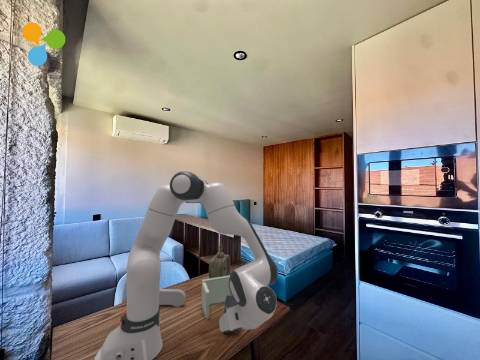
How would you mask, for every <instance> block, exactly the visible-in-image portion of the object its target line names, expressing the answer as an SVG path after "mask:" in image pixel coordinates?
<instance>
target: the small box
mask: <svg viewBox="0 0 480 360" xmlns="http://www.w3.org/2000/svg"><path fill="white" fill-rule="evenodd" d="M235 305H238V304H237V303H236V302H235V300H234V299H233V297H232V296H226V301H225V302H224V307H223V314H224V313H226V309H228V308H230V307H232V306H235ZM238 333H239V330H234V331H230V330H227V331H224V332H223V334H232V335H237V334H238Z"/></svg>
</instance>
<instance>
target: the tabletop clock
mask: <svg viewBox="0 0 480 360" xmlns="http://www.w3.org/2000/svg"><path fill="white" fill-rule="evenodd" d="M220 247H221V248H220ZM223 247H224V246H223V244H222V243H221V244H219V246H218V248H217V250H218V251H217V253H216V254H215V255H214V256H213V257H211V258H210V260H209V262H208V264H209V265H208V279H210V278H217V277H223V276H229V275H230V274H231V255H230V254H225V253H224V251H223V249H224V248H223Z"/></svg>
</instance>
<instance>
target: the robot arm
mask: <svg viewBox="0 0 480 360" xmlns="http://www.w3.org/2000/svg"><path fill="white" fill-rule="evenodd" d="M184 203H186V204H199V203H201V204H203V207H204V209H205V212H206V216H207V220H208V222H209V224H210V226H211V228H212V229H213V230H214V231H215V232H217V233H219V234H223V235H228V236H229V235H233V236H238V237H239V236H240V237H242V239H243V240H245V242H246V244H247V246H248V247H249V250H250V252H251V254H252V255H253V257H254V259H253V260H252V261H250V262H247V263H246V264H244V265H241V266H239V267H237V268H235V269H233V270H232V271H230V277H229V289H230V292H231V295H232V297H233V299H234V300H235V302H236V303H237V304H238V305H235V306H232V307H230V308H228V309H226V313H224V312H223V314H222V315H221V316H220V318H219V319H218V326H219V331H220V332H223V333H224V331H227V330H230V331H234V330H238V331H240V330H255V329H257V328H258V327H260V326H261V325H262V324H263V323H265V322H266V321H268V320H270V319H271V318H272V317H273V316H274V313H275V312H276V309H277V304H278V303H277V302H278V301H277V295H276V293H275V291H274V290H273V289H272V288H271V287H270V286H271V285H274V284H275V283H276V282H277V279H278V275H279V270H278V266H277V265H276V262H275V260H274V259H272V257H271V255H270V254H269V253H268V251H267V249H266V248H265V245H264V244H263V242H262V240H261V238H260V236H259V234H258V233H257V231H256V229H255V228H254V226H253V225H252V223H251V222H250V220H249V219H248V218H246V217H243V216H242V215H241V214H240V213H239V211H238V210H237V207H236V206H235V201H234V200H233V198H232V196H231V194H230V192H229V190H228V189H227V187H226V185H225V184H223V183H222V182H212V183H208V182H207V181H206V180H205V179H204V178H202V177H201V176H200V175H199V174H198V175H197V174H195V173H193V172H191V171H178V172H176V173H175V174H174V175H173V176H172V177H171V179H170V182H169V184H162V185H160V186H159V187H158V189H156V191H155V193H154V195H153V196H152V199H151V200H150V202H149V205H148V208H147V210H146V212H145V215H144V218H143V220H142V223H141V225H140V228H139V229H138V231H137V235H136V237H135V239H134V241H133V244H132V246H131V248H130V251H129V253H128V258H127V264H126V309H124V310H122V311H121V312H120V319H119V325H118V326H117V327H116V328H115V329H113V330H112V331H111V332H109V333H108V335H107V336H106V338H105V340H104V342H103V344H102V346H101V348H99V350H98V351H97V353H96V355H95V357H94V360H154V359H155V358H156V357H157V356H158V355H159V353H160V352H161V350H162V349H163V338H162V336H161V330H160V322H161V309H160V305H159V289H160V284H161V283H160V282H161V273H162V272H161V271H162V270H161V268H162V262H161V259H160V256H161V255H160V254H161V252H162V249H163V247H164V245H165V243H166V241H167V239H168V237H169V236H170V235H171V232H172V229H173V226H174V223H175V220H176V218H177V215H178V213H179V210H180V207H181V205H182V204H184Z"/></svg>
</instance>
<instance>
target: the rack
mask: <svg viewBox="0 0 480 360" xmlns="http://www.w3.org/2000/svg"><path fill="white" fill-rule="evenodd" d="M229 277H230V275H229V276H223V277H217V278H210V279H209V278H205V279H201V308H202V311H203V313H204V318H205V319H209V318H210V305H215V304H218V303H225V301H226V296H232V295H231V292H230V289H229Z"/></svg>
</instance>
